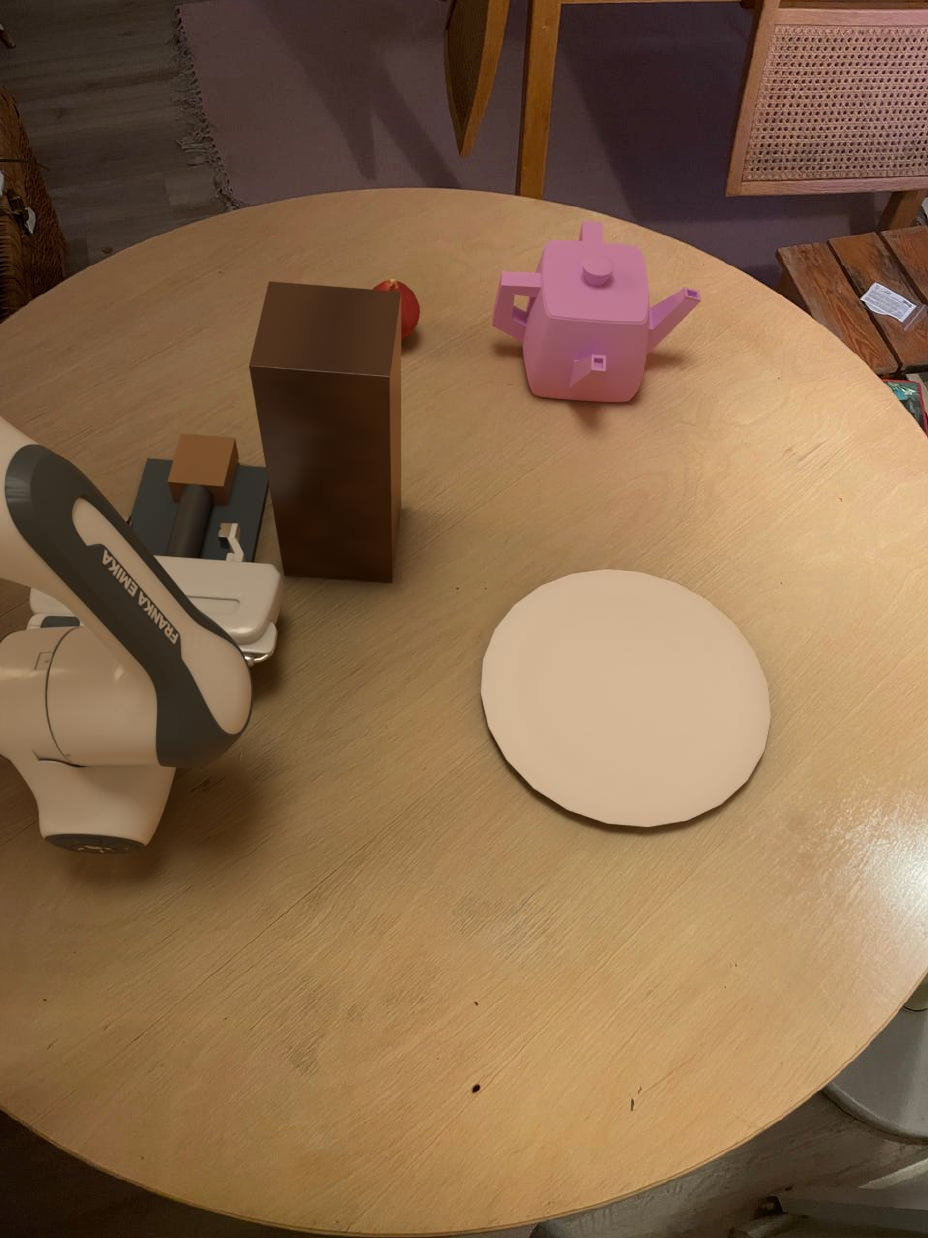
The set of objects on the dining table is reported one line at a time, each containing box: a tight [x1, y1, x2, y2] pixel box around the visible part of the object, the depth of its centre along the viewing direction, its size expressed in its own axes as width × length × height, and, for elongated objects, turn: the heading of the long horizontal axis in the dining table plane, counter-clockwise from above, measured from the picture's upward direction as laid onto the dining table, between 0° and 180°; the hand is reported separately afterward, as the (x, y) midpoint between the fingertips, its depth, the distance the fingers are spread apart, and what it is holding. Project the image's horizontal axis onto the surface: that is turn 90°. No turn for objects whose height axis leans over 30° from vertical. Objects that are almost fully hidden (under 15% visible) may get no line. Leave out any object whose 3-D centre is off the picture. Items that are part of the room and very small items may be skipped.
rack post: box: [248, 280, 402, 584], centre depth 87 cm, size 10×9×26 cm
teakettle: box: [491, 220, 702, 403], centre depth 107 cm, size 17×17×12 cm
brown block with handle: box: [165, 433, 240, 559], centre depth 95 cm, size 18×5×3 cm, turn 176°
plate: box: [480, 568, 772, 829], centre depth 89 cm, size 25×25×2 cm
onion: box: [372, 278, 421, 340], centre depth 109 cm, size 6×6×8 cm
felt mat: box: [130, 457, 269, 563], centre depth 96 cm, size 12×20×1 cm, turn 177°
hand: (177, 522), depth 91 cm, fingers open, 8 cm apart
